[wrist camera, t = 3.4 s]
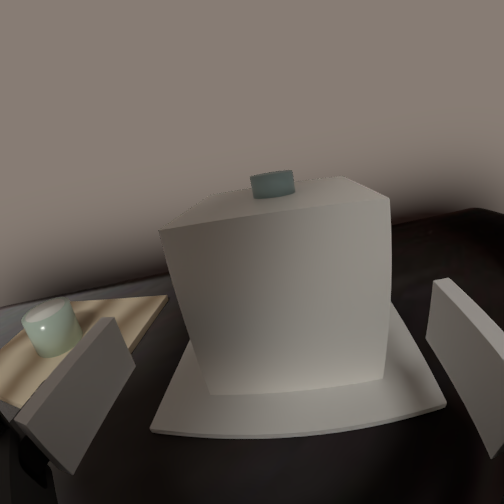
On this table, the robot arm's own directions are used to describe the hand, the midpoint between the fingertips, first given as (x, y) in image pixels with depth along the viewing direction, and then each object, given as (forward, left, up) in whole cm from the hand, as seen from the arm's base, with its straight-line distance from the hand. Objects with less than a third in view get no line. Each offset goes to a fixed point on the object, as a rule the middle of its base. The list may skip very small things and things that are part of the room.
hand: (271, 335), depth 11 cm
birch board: (+21, -8, -6) cm, 24 cm away
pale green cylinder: (+21, -8, -6) cm, 23 cm away
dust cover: (-1, -8, -6) cm, 10 cm away
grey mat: (-1, -8, -6) cm, 10 cm away
